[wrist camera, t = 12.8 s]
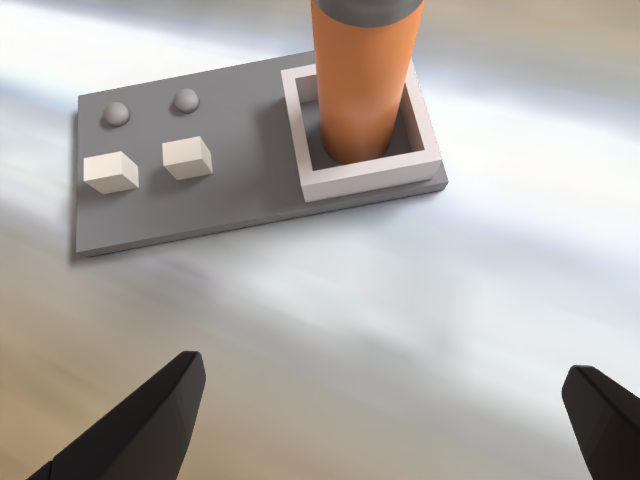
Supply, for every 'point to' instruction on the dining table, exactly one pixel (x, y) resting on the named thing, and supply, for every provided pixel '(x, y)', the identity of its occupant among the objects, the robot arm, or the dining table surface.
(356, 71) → the capped spray can
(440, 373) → the dining table surface
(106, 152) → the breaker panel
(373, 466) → the dining table surface
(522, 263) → the dining table surface
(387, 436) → the dining table surface
